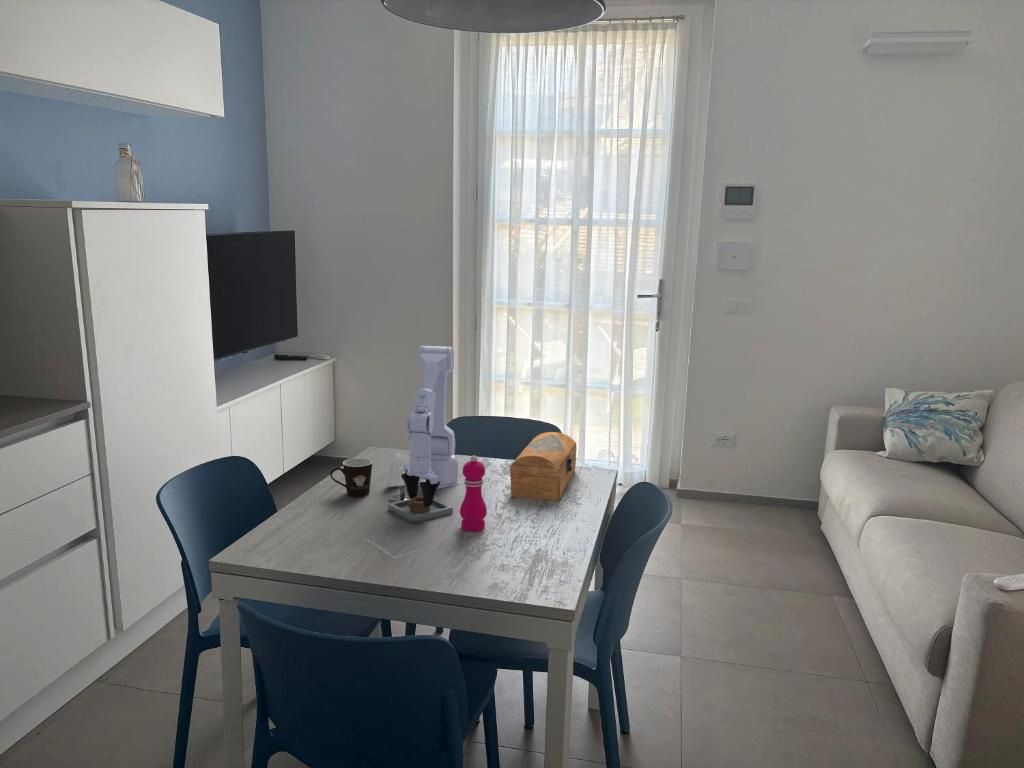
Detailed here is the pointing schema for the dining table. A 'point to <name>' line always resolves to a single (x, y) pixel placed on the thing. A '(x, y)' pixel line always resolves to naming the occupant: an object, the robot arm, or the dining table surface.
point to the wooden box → (544, 467)
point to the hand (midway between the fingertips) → (420, 501)
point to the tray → (435, 511)
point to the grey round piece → (399, 497)
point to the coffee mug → (356, 476)
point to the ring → (418, 505)
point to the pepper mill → (473, 497)
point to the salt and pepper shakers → (397, 471)
